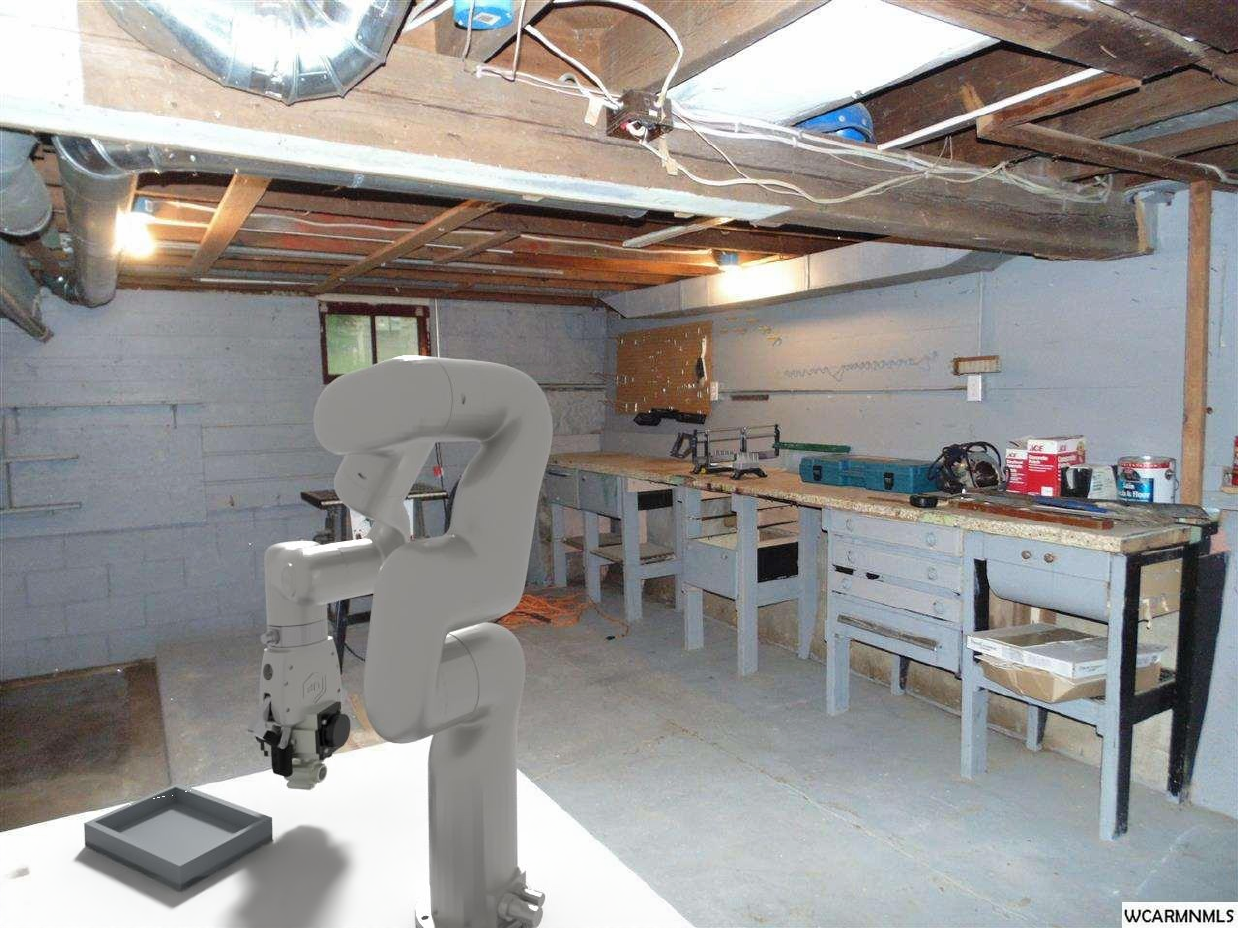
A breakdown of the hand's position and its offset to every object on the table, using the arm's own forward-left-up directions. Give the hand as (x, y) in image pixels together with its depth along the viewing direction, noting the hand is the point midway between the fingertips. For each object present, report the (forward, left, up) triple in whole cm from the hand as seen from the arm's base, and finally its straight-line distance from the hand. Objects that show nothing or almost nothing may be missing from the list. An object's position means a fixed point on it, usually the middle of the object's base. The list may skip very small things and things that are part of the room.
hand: (303, 763), depth 101 cm
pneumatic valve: (0, 0, -3) cm, 3 cm away
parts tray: (+9, +12, -7) cm, 17 cm away
